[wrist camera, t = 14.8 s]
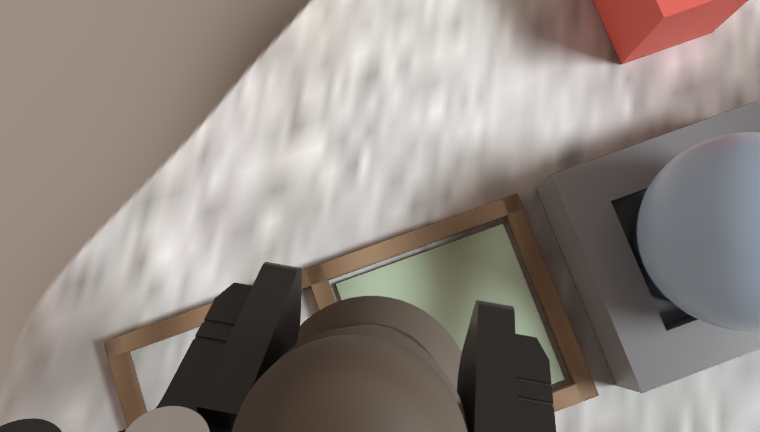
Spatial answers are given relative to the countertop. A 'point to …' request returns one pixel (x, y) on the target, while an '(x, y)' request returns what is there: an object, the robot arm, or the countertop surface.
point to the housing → (618, 264)
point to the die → (660, 23)
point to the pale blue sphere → (705, 231)
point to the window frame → (421, 294)
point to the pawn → (361, 374)
